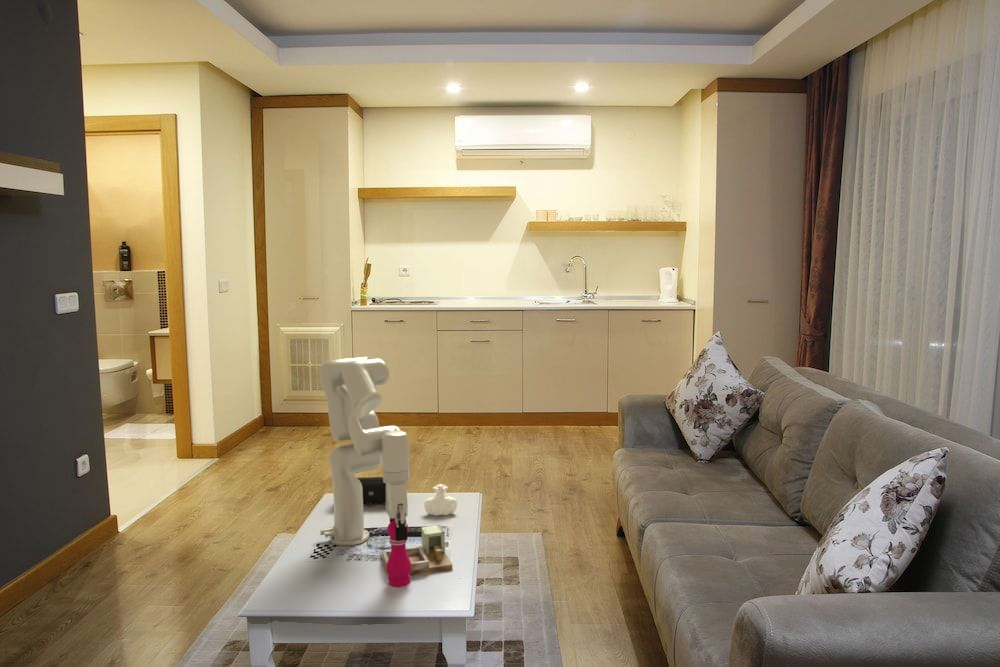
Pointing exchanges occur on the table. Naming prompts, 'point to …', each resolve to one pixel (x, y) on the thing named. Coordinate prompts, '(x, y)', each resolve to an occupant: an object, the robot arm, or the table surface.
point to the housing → (433, 538)
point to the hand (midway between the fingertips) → (398, 534)
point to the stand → (423, 560)
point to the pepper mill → (397, 560)
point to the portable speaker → (373, 490)
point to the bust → (440, 502)
